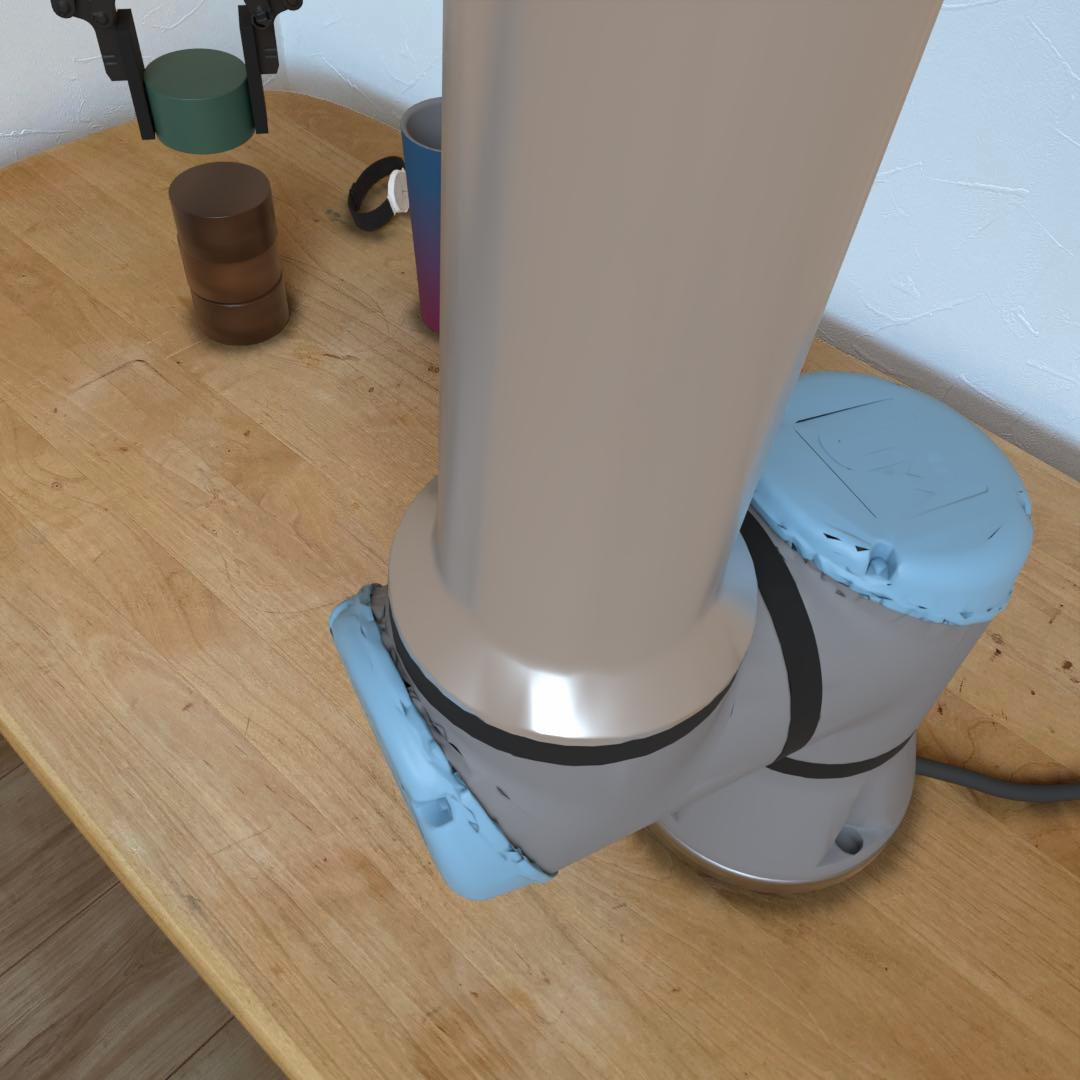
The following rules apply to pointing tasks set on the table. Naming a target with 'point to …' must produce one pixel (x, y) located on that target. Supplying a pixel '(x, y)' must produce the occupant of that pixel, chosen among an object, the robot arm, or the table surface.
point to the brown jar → (230, 251)
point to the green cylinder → (199, 100)
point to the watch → (395, 198)
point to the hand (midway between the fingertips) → (205, 124)
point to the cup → (425, 199)
